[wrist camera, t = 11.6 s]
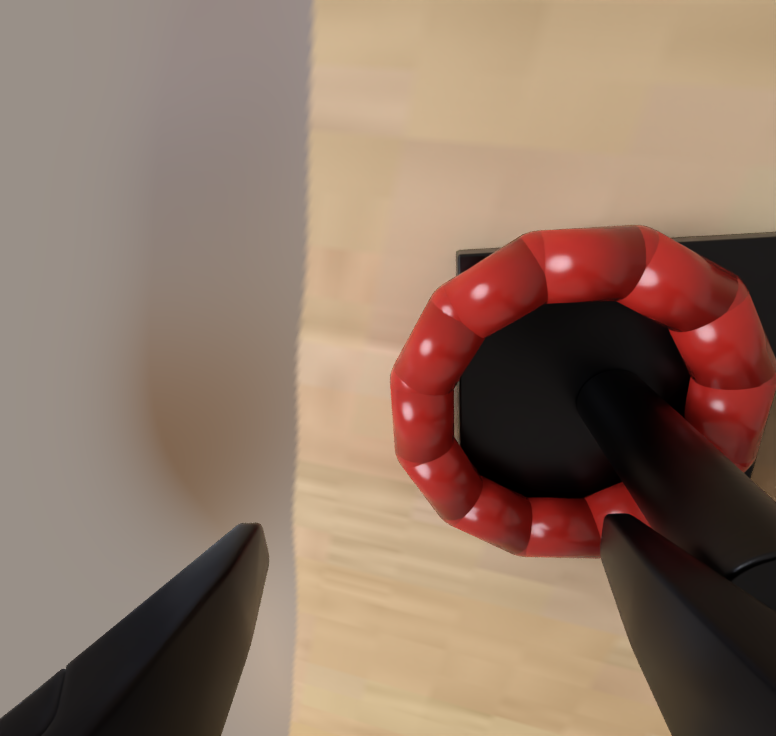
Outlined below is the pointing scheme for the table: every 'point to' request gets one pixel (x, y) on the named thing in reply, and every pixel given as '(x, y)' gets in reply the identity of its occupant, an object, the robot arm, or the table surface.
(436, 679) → the table surface
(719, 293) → the ring
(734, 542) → the peg
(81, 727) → the robot arm
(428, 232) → the table surface
